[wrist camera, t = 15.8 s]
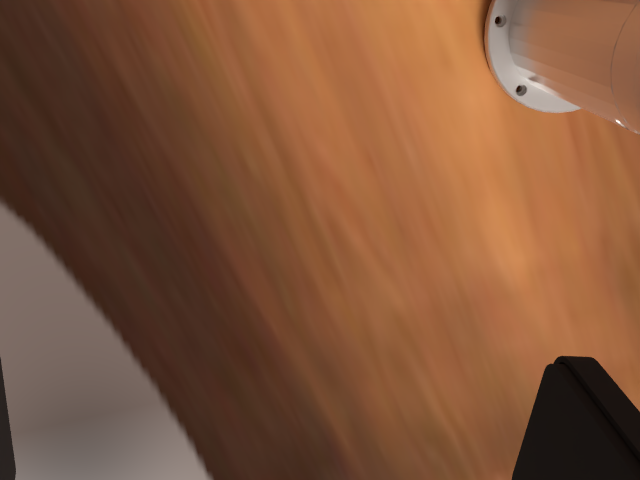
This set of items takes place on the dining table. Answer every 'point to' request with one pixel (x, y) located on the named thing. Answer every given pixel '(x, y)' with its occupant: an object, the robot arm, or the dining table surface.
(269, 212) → the dining table surface
